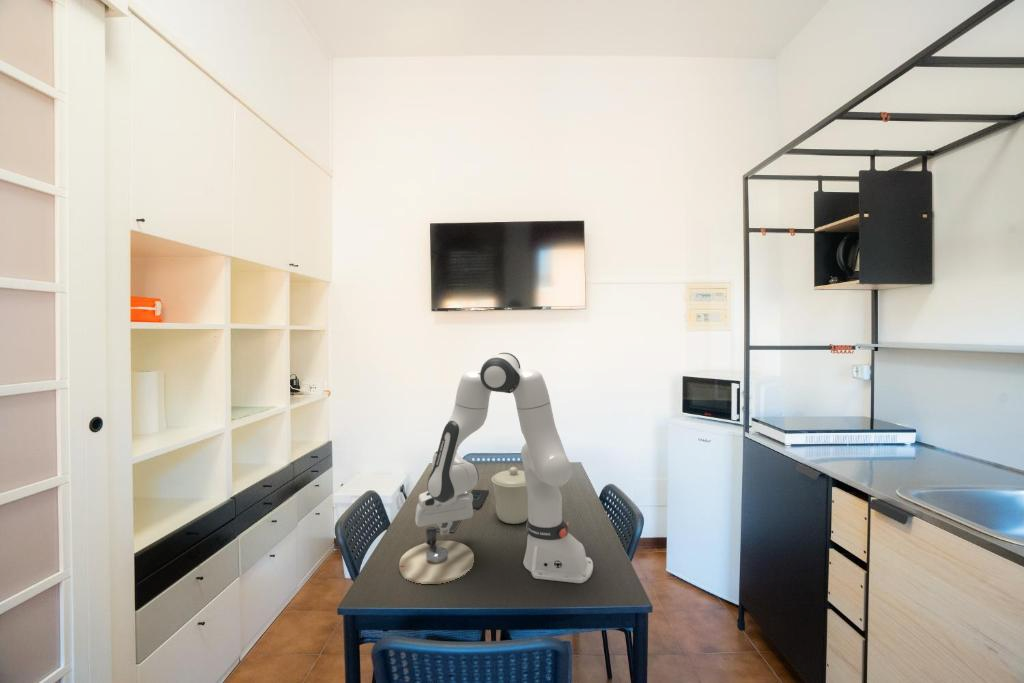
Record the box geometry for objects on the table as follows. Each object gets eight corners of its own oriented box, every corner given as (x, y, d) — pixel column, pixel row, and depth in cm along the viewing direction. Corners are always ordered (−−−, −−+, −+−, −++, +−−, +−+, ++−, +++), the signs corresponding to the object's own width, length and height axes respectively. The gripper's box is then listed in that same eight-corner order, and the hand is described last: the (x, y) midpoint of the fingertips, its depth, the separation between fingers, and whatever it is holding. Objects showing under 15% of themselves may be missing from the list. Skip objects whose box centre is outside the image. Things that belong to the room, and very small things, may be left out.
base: (486, 552, 143) (486, 547, 143) (450, 592, 121) (449, 586, 121) (427, 539, 152) (426, 535, 152) (383, 574, 130) (383, 569, 130)
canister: (532, 530, 158) (532, 475, 158) (486, 526, 162) (486, 473, 162) (538, 511, 176) (538, 461, 176) (497, 507, 180) (497, 459, 179)
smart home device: (489, 490, 197) (479, 507, 177) (489, 493, 197) (479, 511, 177) (472, 489, 198) (461, 506, 179) (472, 492, 198) (461, 510, 179)
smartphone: (464, 513, 173) (453, 531, 157) (464, 516, 173) (453, 533, 157) (447, 512, 174) (435, 529, 158) (447, 515, 174) (435, 532, 158)
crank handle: (450, 560, 134) (450, 543, 134) (428, 565, 132) (428, 548, 131) (440, 540, 147) (440, 525, 147) (420, 544, 145) (420, 528, 145)
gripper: (470, 487, 153) (470, 524, 153) (414, 496, 145) (414, 535, 145) (475, 493, 147) (475, 532, 147) (417, 502, 139) (417, 543, 140)
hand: (444, 533), depth 146 cm, fingers closed
